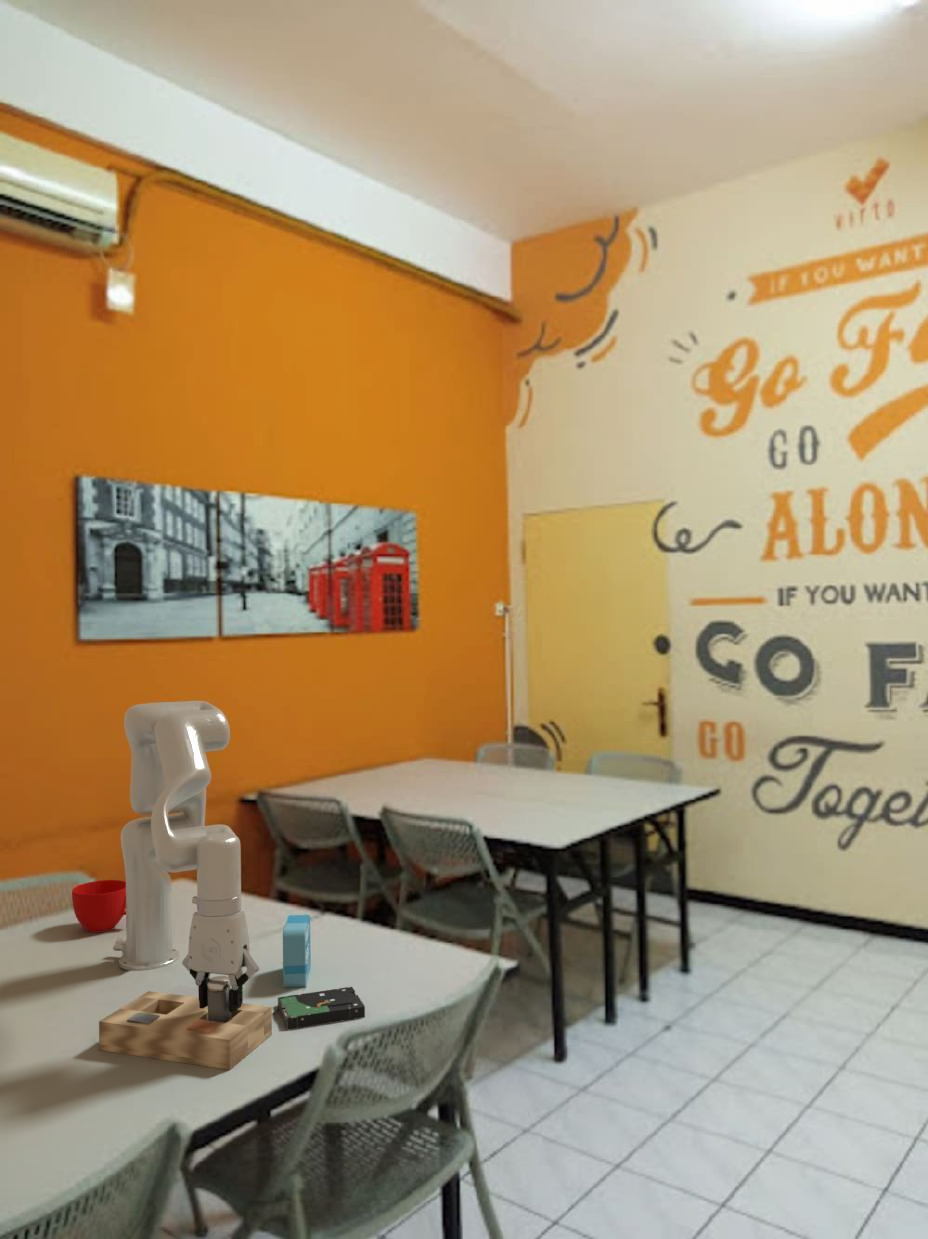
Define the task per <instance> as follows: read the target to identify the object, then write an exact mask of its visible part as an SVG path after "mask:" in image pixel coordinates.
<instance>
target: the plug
mask: <svg viewBox="0 0 928 1239" xmlns="http://www.w3.org/2000/svg"><path fill="white" fill-rule="evenodd" d="M231 988H232V987H231V984H230V980H229V976H228V975H217V976H213V977H210V978H209V979H208V980H207V1000H208V1020H209V1021H216V1022H224V1023H226V1022H228V1021H229V1020H230V1019H231V1012H230V1011H229V990H230V989H231Z"/></svg>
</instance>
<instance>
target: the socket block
mask: <svg viewBox="0 0 928 1239" xmlns="http://www.w3.org/2000/svg"><path fill="white" fill-rule="evenodd" d="M272 1019H273V1017H272V1006H267V1005H259V1004H252V1003H244V1002H242V1005H241V1007H240V1008H239V1009H237V1010H236V1011H235V1012H233V1013H232V1012H231V1019H230V1020H229V1021H228V1022H226V1023H224V1022H216V1021H209V1020H208V1006H206V1007H205V1008H203V1009H202V1008H200V1005H199V998H198V997H190V996H183V995H175V994H167V992H159V991H151V990H147V992H145V993H143V994H142V995H140V996H138V997H137V998H135V999H134V1000H132V1001H130V1002H129V1003H127V1004H125V1005H124V1006H122V1007H120V1008H119V1009H117V1010H115V1011H114V1012H111V1013H110V1014H109V1015H107V1016H105V1017H103V1018H102V1019H100V1020H98V1037H99V1038H98V1045H99V1047H98V1050H99V1051H104V1052H110V1053H117V1054H123V1055H130V1056H137V1057H143V1058H150V1059H155V1060H162V1061H169V1062H176V1063H183V1064H190V1065H194V1066H201V1067H208V1068H214V1069H219V1070H227V1071H231V1070H232V1069H233V1068H234V1067H235V1066H237V1065H238V1064H239V1063H240V1062H242V1061H243V1060H244V1059H245V1058H246V1057H247V1056H249V1055H250V1053H252V1052H253V1051H254V1050H256V1049H257V1048H258V1047H259V1046H260V1045H261V1044H263V1043H264V1042H265V1041H266V1040H267V1039H269V1038H270V1037H271V1036H272V1035H273V1033H272V1032H273V1028H272V1027H273V1026H272V1023H273V1022H272V1021H273V1020H272Z"/></svg>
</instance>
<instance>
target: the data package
mask: <svg viewBox="0 0 928 1239" xmlns="http://www.w3.org/2000/svg"><path fill="white" fill-rule="evenodd" d="M311 955H312V954H311V915H310V914H293V915H292V914H291V915H287V919H286V922H285V925H284V928H283V931H282V981H283V982H282V986H283V988H301V987H302V988H306V987H307V983H308V979H309V975H310V971H311V965H312V964H311V962H312V961H311Z"/></svg>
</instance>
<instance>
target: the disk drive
mask: <svg viewBox="0 0 928 1239" xmlns="http://www.w3.org/2000/svg"><path fill="white" fill-rule="evenodd" d="M277 1007H278V1008H277V1010H278V1012H279V1016H281V1018H282V1022H283V1024H284V1026H285V1028H286V1030H292V1029H299V1028H300V1029H301V1028H307V1027H311V1026H312V1027H313V1026H318V1025H324V1024H330V1023H331V1022H332V1023H337V1022H336V1021H338V1022H343V1021H342V1020H344V1021H349V1020H355V1018H357V1019H361V1017H362V1018H365V1016H366V1008H365V1007H366V1006H365V1004H364V1003H363V1002H362V999H361V998H360V997H359V995H358V994H356V990H355V989H354V987H353V986H349V987H348V986H345V987H340V988H335V989H334V988H333V989H326V990H320V991H314V992H306V993H301V994H293V995H287V996H280V997H277Z"/></svg>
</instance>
